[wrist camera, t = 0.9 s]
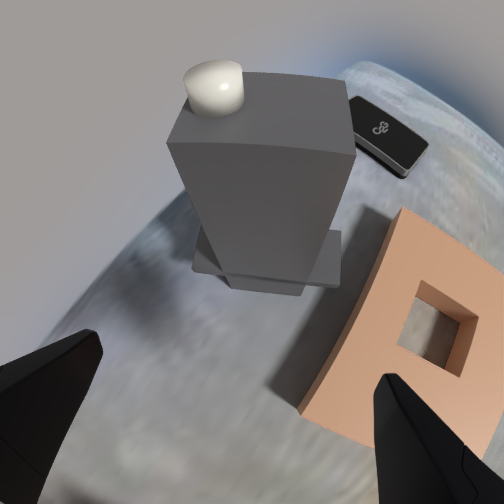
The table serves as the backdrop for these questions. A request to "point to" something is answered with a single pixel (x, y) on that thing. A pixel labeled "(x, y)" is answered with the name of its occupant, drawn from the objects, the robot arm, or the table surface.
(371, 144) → the external hard drive
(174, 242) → the table surface
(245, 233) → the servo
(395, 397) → the robot arm
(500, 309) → the plate
